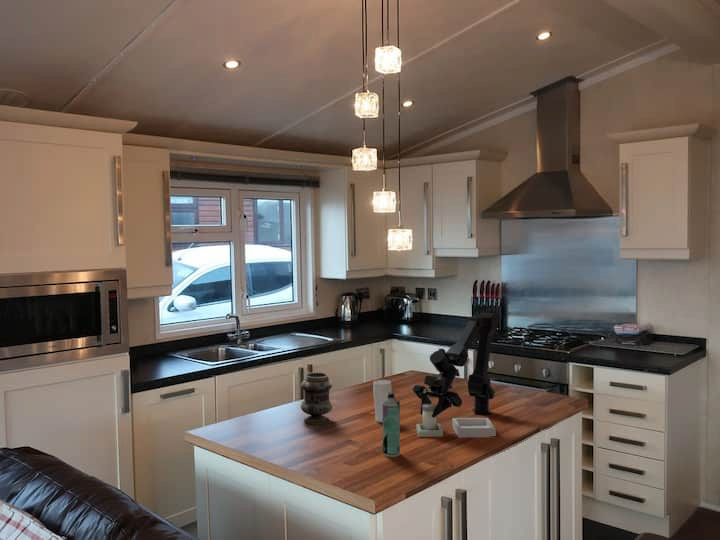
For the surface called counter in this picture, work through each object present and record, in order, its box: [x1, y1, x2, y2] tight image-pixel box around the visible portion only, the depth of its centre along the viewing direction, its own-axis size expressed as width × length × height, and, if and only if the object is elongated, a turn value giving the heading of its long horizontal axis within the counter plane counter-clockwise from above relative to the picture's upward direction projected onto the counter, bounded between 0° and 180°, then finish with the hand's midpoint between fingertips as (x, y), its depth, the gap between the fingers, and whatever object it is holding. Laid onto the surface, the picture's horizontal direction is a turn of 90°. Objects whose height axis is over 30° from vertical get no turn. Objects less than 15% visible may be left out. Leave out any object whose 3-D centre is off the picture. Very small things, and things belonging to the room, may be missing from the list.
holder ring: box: [415, 423, 444, 438], centre depth 223 cm, size 8×8×2 cm
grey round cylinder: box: [422, 403, 437, 430], centre depth 222 cm, size 5×5×10 cm
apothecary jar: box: [300, 371, 333, 426], centre depth 237 cm, size 12×12×18 cm
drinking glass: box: [372, 379, 392, 424], centre depth 237 cm, size 7×7×15 cm
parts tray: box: [452, 417, 497, 439], centre depth 224 cm, size 13×13×3 cm
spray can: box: [382, 391, 401, 458], centre depth 201 cm, size 6×6×20 cm
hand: (427, 415), depth 221 cm, fingers closed on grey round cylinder, 5 cm apart
